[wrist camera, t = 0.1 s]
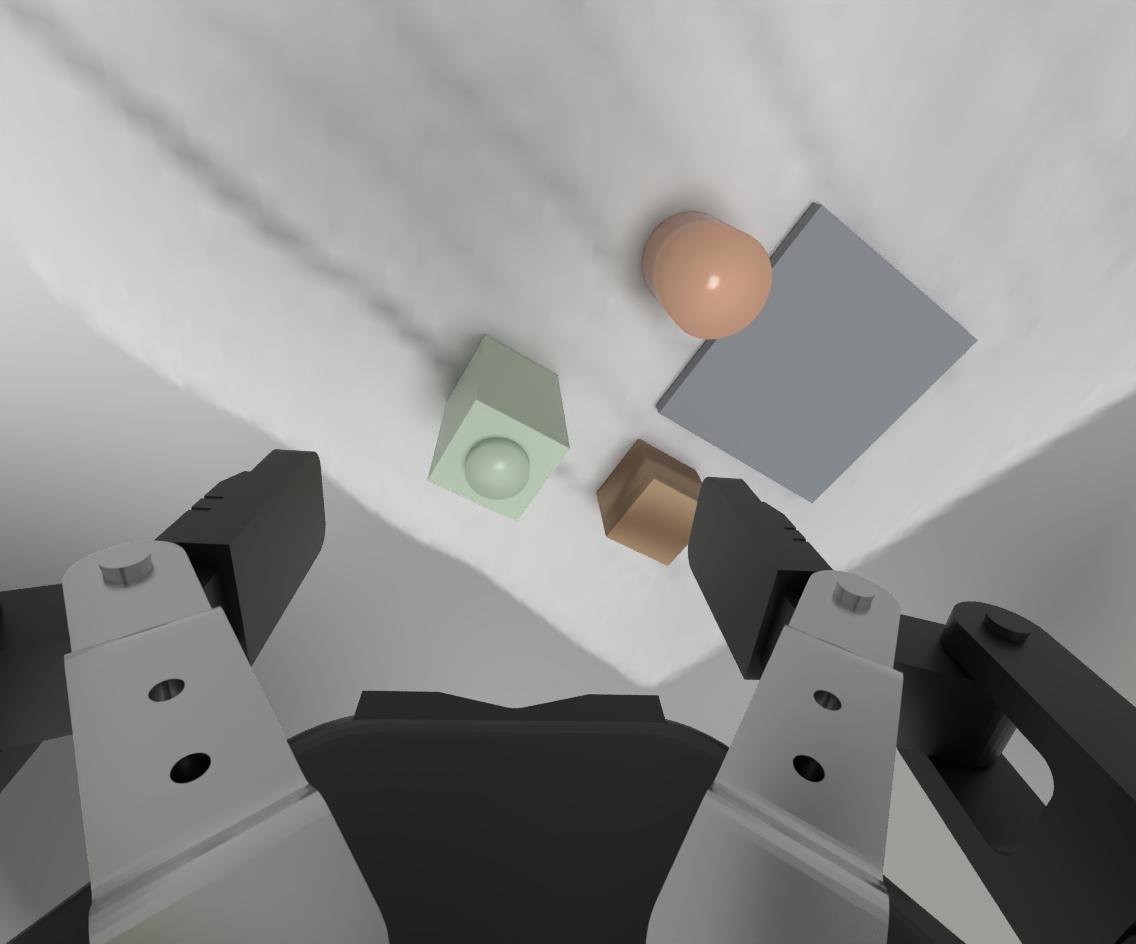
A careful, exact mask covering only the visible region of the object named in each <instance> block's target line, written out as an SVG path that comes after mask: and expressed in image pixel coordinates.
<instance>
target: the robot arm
mask: <svg viewBox="0 0 1136 944" xmlns="http://www.w3.org/2000/svg"><path fill="white" fill-rule="evenodd" d="M324 536H325V511H324V500H323V489H322V476H321V466H320V460H319V457H318V455H317V453H316V452H312V451H296V450H279V449H275V450H273V451H272V452H271V453H270V454H268V455H267V456H266V457H265V458H264V459H263V460H262V461H261V462H260V463H259V464H258V465H257V466H256V467H255V468H254V469H253V470H252V471H251V472H247V471H244V472H241V473H239V474H237V475H235V476H232V477H230V478H228V479H226V480H223V481H221V482H219V483H218V484H217V485H216V486H215V487H214V488H213V489H212V490H210V491H209V492H208V493H207V494H206V495H205V496H204V499H200V500H199V501H198V502H197V503H196V504H194V506H192V509H191V510H188V511H187V512H186V513H184V514H183V515H182V516H181V517H180V518H179V519H178V520H176V521H175V522H174V523H173V524H172V525H171V526H170V527H169V528H167V529H166V530H165V531H164V532H163V533H162V534H161V535H159V537H157V538H156V539H155V540H154V541H138V542H130V543H125V544H120V545H117V546H113V547H109V548H106V549H103V550H100V551H98V552H95V553H93V554H91V555H89V556H87V557H85V558H83V559H82V560H80V561H78V562H77V563H75V564H74V565H73V566H72V567H70V568H69V569H68V570H67V572H66V573H65V575H64V577H63V580H62V584H56V585H48V586H40V587H34V588H25V589H18V590H10V591H2V592H0V793H1V791H2V790H3V789H4V787H6V785H7V784H8V783H9V782H10V781H11V779H12V778H13V777H14V776H15V774H16V773H17V772H18V771H19V770H20V768H21V767H22V766H23V765H24V764H25V762H26V761H27V760H28V759H29V758H30V756H31V755H32V754H33V753H34V752H35V750H36V749H37V748H38V747H39V745H40V744H41V743H42V741H44V740H48V739H53V738H57V737H62V736H66V735H71V734H73V738H74V739H73V740H74V748H75V756H76V764H77V773H78V781H79V789H80V798H81V806H82V814H83V822H84V830H85V839H86V847H87V856H88V864H89V872H90V880H91V881H90V882H89V883H87V884H86V885H85V886H83V887H82V888H81V889H79V890H78V891H77V892H75V893H74V894H73V895H71V896H70V897H69V898H67V899H66V900H64V901H63V902H62V903H60V904H59V905H58V906H56V907H55V908H54V909H52V910H51V911H49V912H48V913H47V914H45V915H44V916H43V917H41V918H40V919H39V920H37V921H36V922H35V923H33V924H32V925H31V926H29V927H28V928H26V929H25V930H24V931H22V932H21V933H20V934H18V935H17V936H16V937H14V938H13V939H12V940H10V941H9V942H7V943H6V944H965V943H964V942H963V941H962V940H960V939H959V938H958V937H957V936H956V935H955V934H953V933H952V932H951V931H950V930H949V929H947V928H946V927H945V926H944V925H943V924H942V923H940V922H939V921H938V920H937V919H936V918H934V917H933V916H932V915H931V914H929V913H928V912H927V911H926V910H925V909H924V908H922V907H921V906H920V905H919V904H917V903H916V902H915V901H914V900H913V899H911V898H910V897H909V896H908V895H907V894H906V893H904V892H903V891H902V890H901V889H899V888H898V887H897V886H896V885H895V884H893V883H892V882H891V881H890V880H889V879H888V878H886V877H885V876H884V875H883V865H884V856H885V846H886V837H887V828H888V819H889V809H890V799H891V790H892V781H893V771H894V762H895V752H896V747H897V749H898V751H899V753H900V754H901V756H902V757H903V759H904V760H905V762H906V763H907V765H908V767H909V768H910V770H911V771H912V773H913V774H914V776H915V778H916V779H917V780H918V782H919V784H920V785H921V787H922V788H923V790H924V792H925V793H926V795H927V796H928V798H929V799H930V801H931V802H932V804H933V806H934V807H935V809H936V810H937V811H938V813H939V815H940V816H941V818H942V819H943V821H944V823H945V824H946V826H947V827H948V829H949V830H950V832H951V834H952V835H953V836H954V838H955V840H956V841H957V843H958V844H959V846H960V847H961V849H962V850H963V852H964V854H965V855H966V857H967V858H968V860H969V862H970V863H971V865H972V866H973V868H974V869H975V871H976V872H977V874H978V876H979V877H980V878H981V880H982V882H983V883H984V885H985V887H986V888H987V890H988V891H989V893H990V894H991V896H992V897H993V899H994V900H995V902H996V903H997V905H998V907H999V908H1000V910H1001V911H1002V913H1003V914H1004V916H1005V918H1006V919H1007V921H1008V922H1009V924H1010V925H1011V927H1012V929H1013V930H1014V931H1015V933H1016V935H1017V936H1018V938H1019V939H1020V941H1021V942H1022V944H1136V707H1134V706H1133V705H1132V704H1131V703H1130V702H1128V701H1127V700H1126V699H1125V698H1124V697H1122V696H1121V695H1120V694H1119V693H1118V692H1117V691H1115V690H1114V689H1113V688H1112V687H1111V686H1109V685H1108V684H1107V683H1106V682H1105V681H1103V680H1102V679H1101V678H1100V677H1099V676H1098V675H1096V674H1095V673H1094V672H1093V671H1092V670H1091V669H1089V668H1088V667H1087V666H1086V665H1084V664H1083V663H1082V662H1081V661H1080V660H1079V659H1077V658H1076V657H1075V656H1074V655H1073V654H1071V653H1070V652H1069V651H1068V650H1067V649H1065V648H1064V647H1063V646H1062V645H1061V644H1060V643H1058V642H1057V641H1056V640H1055V639H1054V638H1053V637H1051V636H1050V635H1049V634H1048V633H1047V632H1045V631H1044V630H1043V629H1041V628H1040V627H1039V626H1037V625H1035V624H1034V623H1032V622H1031V621H1029V620H1027V619H1025V618H1024V617H1021V616H1019V615H1017V614H1016V613H1013V612H1010V611H1008V610H1006V609H1003V608H1000V607H997V606H994V605H990V604H986V603H981V602H968V601H967V602H961V603H958V604H956V605H955V606H954V608H953V610H952V612H951V614H950V616H949V618H948V621H947V623H946V625H944V624H939V623H936V622H931V621H927V620H923V619H918V618H914V617H910V616H906V615H902V614H900V613H901V612H900V606H899V604H898V602H897V601H896V599H895V598H894V597H893V596H892V595H891V594H890V593H889V592H887V591H886V590H885V589H883V588H881V587H880V586H879V585H877V584H875V583H874V582H872V581H869V580H867V579H865V578H863V577H860V576H857V575H854V574H851V573H847V572H842V571H835V570H833V569H832V568H831V567H830V566H829V565H828V564H827V563H826V561H825V560H824V559H823V558H822V557H821V556H820V555H819V553H818V552H817V551H816V550H815V549H814V548H813V547H812V546H811V544H810V543H809V542H806V539H805V538H804V536H803V535H802V534H801V533H800V532H799V531H797V530H796V527H795V526H794V525H793V524H792V523H791V522H790V521H789V520H788V518H787V517H786V516H785V515H784V514H783V513H781V512H779V511H778V510H776V509H775V508H773V507H771V506H770V505H768V504H767V503H765V502H761V501H760V500H759V498H758V497H757V496H756V495H755V494H754V492H753V491H752V490H751V489H750V488H749V486H748V485H747V484H746V483H745V482H744V481H743V480H742V479H733V478H717V477H707V478H705V479H704V481H703V483H702V485H701V488H700V493H699V497H698V502H697V506H696V511H695V515H694V520H693V524H692V528H691V533H690V537H689V543H688V559H689V564H690V568H691V570H692V572H693V574H694V576H695V578H696V580H697V582H698V585H699V587H700V589H701V591H702V593H703V595H704V597H705V599H706V601H707V603H708V605H709V607H710V609H711V611H712V613H713V616H714V618H715V620H716V622H717V624H718V626H719V628H720V630H721V632H722V634H723V636H724V638H725V640H726V642H727V645H728V647H729V649H730V651H731V653H732V655H733V657H734V659H735V661H736V663H737V665H738V667H739V669H740V671H741V673H742V676H743V677H744V679H747V680H760V681H759V683H758V686H757V688H756V690H755V692H754V694H753V697H752V699H751V701H750V703H749V706H748V708H747V710H746V712H745V714H744V717H743V719H742V721H741V723H740V726H739V728H738V730H737V732H736V734H735V737H734V739H733V741H732V743H731V746H730V748H729V747H728V746H726V745H725V744H723V743H722V742H720V741H718V740H716V739H715V738H713V737H711V736H709V735H707V734H705V733H703V732H701V731H699V730H697V729H694V728H692V727H690V726H687V725H684V724H681V723H678V722H675V721H671V720H667V719H665V717H664V714H663V710H662V707H661V703H660V700H659V696H657V695H597V694H596V695H595V694H588V695H583V696H578V697H574V698H569V699H563V700H559V701H554V702H549V703H544V704H539V705H534V706H529V707H524V708H507V707H502V706H498V705H494V704H489V703H485V702H480V701H476V700H471V699H467V698H463V697H458V696H454V695H449V694H445V693H441V692H407V691H405V692H404V691H362V694H361V697H360V700H359V703H358V706H357V709H356V712H355V715H354V716H349V717H344V718H340V719H337V720H333V721H330V722H327V723H323V724H321V725H318V726H316V727H313V728H311V729H308V730H306V731H304V732H302V733H299V734H297V735H296V736H293V737H291V738H289V739H287V740H286V738H285V736H284V734H283V732H282V730H281V728H280V726H279V724H278V722H277V720H276V718H275V716H274V714H273V711H272V709H271V707H270V705H269V703H268V701H267V699H266V697H265V695H264V693H263V691H262V689H261V687H260V685H259V683H258V681H257V679H256V677H255V675H254V672H253V670H252V668H251V666H252V665H253V663H254V661H255V660H256V658H257V656H258V655H259V653H260V651H261V650H262V648H263V646H264V645H265V643H266V641H267V640H268V638H269V636H270V634H271V633H272V631H273V629H274V628H275V626H276V624H277V623H278V621H279V619H280V618H281V616H282V614H283V613H284V611H285V609H286V608H287V606H288V604H289V603H290V601H291V599H292V598H293V596H294V594H295V593H296V591H297V589H298V587H299V586H300V584H301V582H302V581H303V579H304V578H305V576H306V574H307V572H308V571H309V569H310V568H311V566H312V564H313V562H314V560H315V559H316V557H317V555H318V554H319V552H320V550H321V548H322V545H323V541H324ZM1016 728H1018V729H1019V731H1020V732H1021V733H1022V734H1023V735H1024V736H1025V737H1026V738H1027V739H1028V741H1029V742H1030V743H1031V744H1032V745H1033V746H1034V747H1035V748H1036V749H1037V750H1038V752H1040V754H1041V755H1042V756H1043V758H1044V759H1045V760H1046V762H1047V764H1048V766H1049V768H1050V770H1051V773H1052V776H1053V780H1054V792H1053V796H1052V798H1051V800H1050V802H1049V803H1048V804H1047V806H1045V805H1044V803H1043V802H1042V801H1041V800H1040V799H1039V797H1038V796H1037V795H1036V794H1035V793H1034V791H1033V790H1032V789H1031V788H1030V787H1029V786H1028V784H1027V783H1026V782H1025V781H1024V779H1023V778H1022V777H1021V776H1020V775H1019V774H1018V772H1017V771H1016V770H1015V769H1014V767H1013V766H1012V765H1011V764H1010V763H1009V761H1008V760H1007V759H1006V758H1005V757H1004V755H1003V754H1002V751H1003V750H1004V748H1005V746H1006V745H1007V743H1008V741H1009V740H1010V738H1011V736H1012V735H1013V733H1014V731H1015V730H1016Z"/></svg>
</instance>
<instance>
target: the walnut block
mask: <svg viewBox="0 0 1136 944" xmlns="http://www.w3.org/2000/svg"><path fill="white" fill-rule="evenodd" d="M701 485H702V482H701V480H700V478H699V476H698V474H697V472H696V470H694V469H692V468H690V467H689V466H687V465H685V464H683V463H681V462H680V461H678V460H676V459H674V458H672V457H671V456H669V455H667V454H665V453H664V452H662V451H660V450H658V449H656V448H655V447H653V446H651V445H649V444H647V443H646V442H644V441H642V440H640V439H638V440H637V441H636V443H635V444H634V445H633V447H632V448H631V449H630V450H629V452H628V453H627V454H626V455H625V457H624V458H623V459H622V461H621V462H620V463H619V464H618V466H617V467H616V468H615V470H614V471H613V472H612V473H611V475H610V476H609V477H608V478H607V480H606V481H605V482H604V484H603V485H602V486H601V487H600V489H599V490H598V491H597V492H596V493H597V498H598V502H599V507H600V511H601V516H602V521H603V525H604V530H605V534H606V537H608V538H610V539H612V540H614V541H616V542H618V543H620V544H623V545H625V546H627V547H629V548H631V549H633V550H635V551H637V552H639V553H642V554H644V555H646V556H648V557H650V558H652V559H654V560H656V561H659V562H661V563H663V564H665V565H667V566H668V565H669V564H670V563H671V562H672V561H673V560H674V559H675V558H676V557H677V555H678V554H679V553H680V552H681V551H682V550H683V549H684V548H685V547H686V546H687V545H688V543H689V537H690V533H691V528H692V524H693V520H694V515H695V511H696V506H697V502H698V497H699V493H700V488H701Z"/></svg>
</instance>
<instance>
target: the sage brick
mask: <svg viewBox="0 0 1136 944" xmlns="http://www.w3.org/2000/svg"><path fill="white" fill-rule="evenodd" d="M569 449H570V447H569V440H568V434H567V428H566V422H565V416H564V410H563V404H562V398H561V392H560V386H559V379H558V375H556V374H554V373H552V372H551V371H549V370H547V369H545V368H544V367H542V366H540V365H538V364H537V363H535V362H533V361H531V360H530V359H528V358H526V357H525V356H523V355H521V354H519V353H518V352H516V351H514V350H512V349H511V348H509V347H507V346H505V345H504V344H502V343H500V342H498V341H497V340H495V339H493V338H491V337H490V336H488V335H486V334H485V336H484V338H483V339H482V341H481V343H480V345H479V346H478V348H477V350H476V351H475V353H474V355H473V357H472V358H471V360H470V362H469V364H468V365H467V367H466V369H465V371H464V372H463V374H462V376H461V378H460V379H459V381H458V383H457V385H456V386H455V388H454V390H453V392H452V393H451V395H450V397H449V398H448V400H447V403H446V407H445V411H444V415H443V419H442V423H441V427H440V431H439V435H438V439H437V443H436V447H435V451H434V455H433V459H432V463H431V468H430V472H429V476H428V480H427V481H429V482H431V483H433V484H435V485H438V486H440V487H442V488H444V489H447V490H449V491H451V492H453V493H455V494H458V495H460V496H462V497H464V498H466V499H469V500H471V501H473V502H475V503H478V504H480V505H482V506H484V507H486V508H489V509H491V510H493V511H495V512H497V513H500V514H502V515H504V516H506V517H508V518H511V519H513V520H515V521H518V519H519V518H520V517H521V515H522V514H523V513H524V511H525V510H526V508H527V507H528V506H529V504H530V503H531V501H532V500H533V499H534V497H535V496H536V495H537V493H538V492H539V490H540V489H541V488H542V486H543V485H544V483H545V482H546V481H547V479H548V478H549V477H550V475H551V474H552V472H553V471H554V470H555V468H556V467H557V466H558V464H559V463H560V461H561V460H562V459H563V457H564V456H565V454H566V453H567V452H568V450H569Z"/></svg>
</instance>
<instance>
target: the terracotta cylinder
mask: <svg viewBox="0 0 1136 944" xmlns="http://www.w3.org/2000/svg"><path fill="white" fill-rule="evenodd" d="M642 272H643V277H644V280H645V282H646V284H647V286H648V288H649V289H650V291H651V292H652V293H653V295H654V296H655V297H656V298H657V300H658V301H659V302H660V304H661V305H662V306H663V307H664V309H665V310H666V311H667V312H668V314H669V315H670V316H671V317H672V319H673V320H674V321H675V323H676V324H677V325H678V326H679V327H680V328H681V329H682V330H684V331H685V332H686V333H688V334H690V335H692V336H694V337H697V338H701V339H720V338H724V337H728V336H731V335H733V334H735V333H737V332H739V331H740V330H742V329H743V328H745V327H746V326H748V325H749V324H750V323H751V322H752V321H753V320H754V319H755V318H756V317H757V316H758V314H759V313H760V311H761V310H762V308H763V307H764V305H765V303H766V301H767V298H768V296H769V293H770V289H771V284H772V267H771V263H770V259H769V257H768V254H767V252H766V251H765V249H764V248H763V246H762V245H761V244H760V243H759V242H758V241H757V240H756V239H755V238H753V237H752V236H750V235H748V234H746V233H744V232H742V231H740V230H738V229H736V228H734V227H732V226H730V225H728V224H726V223H724V222H721V221H719V220H717V219H715V218H713V217H711V216H709V215H707V214H704V213H701V212H683V213H679V214H676V215H674V216H672V217H670V218H668V219H667V220H665V221H664V222H663V223H661V224H660V225H659V226H658V227H657V228H656V229H655V230H654V232H653V233H652V234H651V236H650V238H649V239H648V241H647V244H646V246H645V249H644V252H643V258H642Z"/></svg>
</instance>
